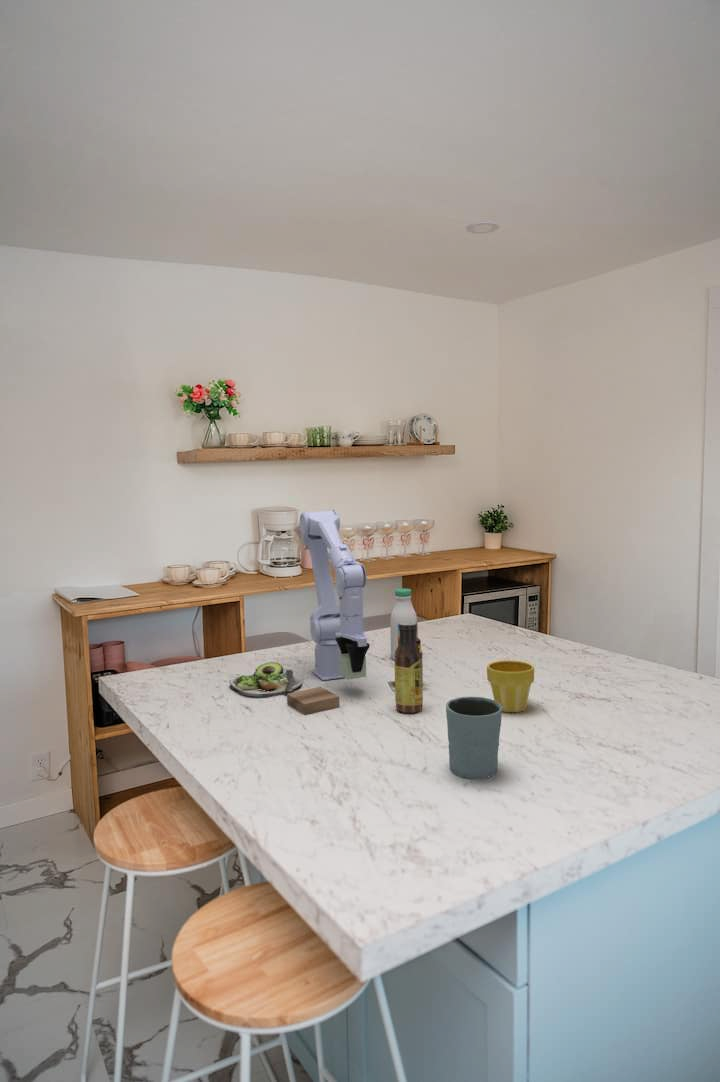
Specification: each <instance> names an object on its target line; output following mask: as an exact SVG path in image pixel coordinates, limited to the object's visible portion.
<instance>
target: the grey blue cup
mask: <svg viewBox="0 0 720 1082" xmlns="http://www.w3.org/2000/svg"><path fill="white" fill-rule="evenodd" d="M445 710H446V711H445V713H446V716H445V717H446V723H447V725H446V726H447V739H448V754H449V757H448V758H449V759H448V760H449V761H448V762H449V769H450V771H451V773H453V774H454V775H456V776H458V777H460V776H461V778H464V777H466V778H465V779H470V778H482V779H484V778H483V777H487V778H489V777H488V776H490V777H492V776H494V775H495V774H496V773H497V772H498V762H499V755H498V754H499V746H500V735H501V734H500V733H501V726H502V716H503V711H502V706H501V705H500V703H498V702H496V701H494V700H493V699H492V698H491V699H490V698H488V697H483V696H482V697H481V696H461V697H456V698H452V699H450V700H448V701H447V702H446V704H445ZM496 771H497V772H496ZM493 774H494V775H493ZM491 775H492V776H491Z"/></svg>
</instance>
